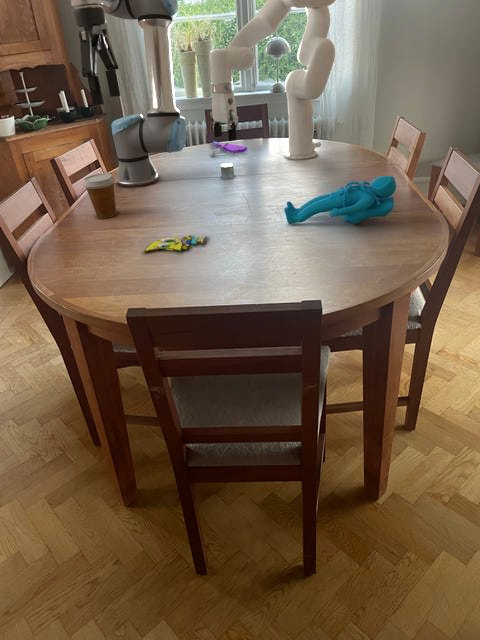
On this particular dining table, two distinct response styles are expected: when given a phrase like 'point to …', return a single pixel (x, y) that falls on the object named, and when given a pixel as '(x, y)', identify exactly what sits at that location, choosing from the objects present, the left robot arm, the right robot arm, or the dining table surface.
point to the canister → (227, 171)
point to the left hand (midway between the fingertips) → (107, 100)
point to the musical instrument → (229, 148)
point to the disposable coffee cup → (101, 194)
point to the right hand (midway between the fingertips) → (225, 138)
